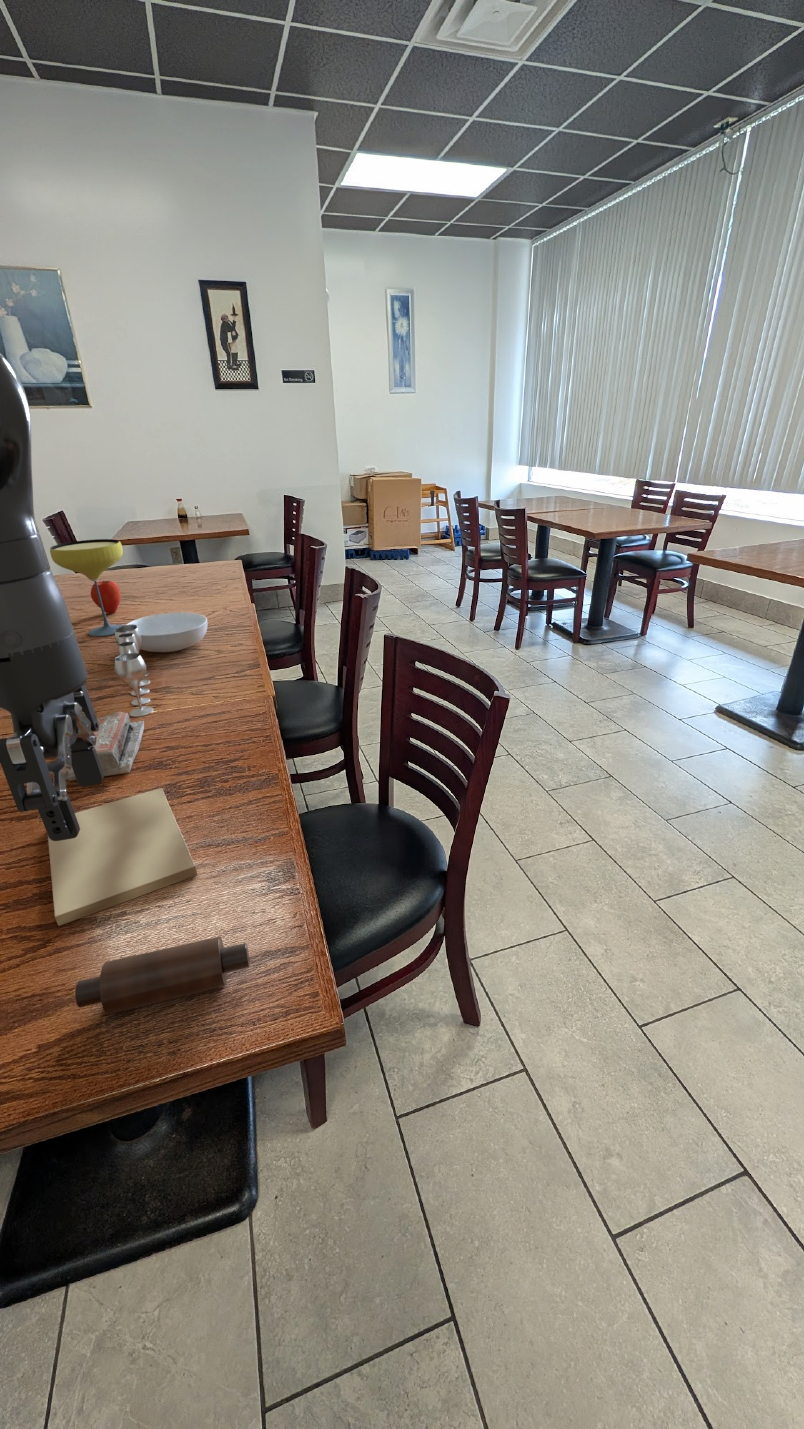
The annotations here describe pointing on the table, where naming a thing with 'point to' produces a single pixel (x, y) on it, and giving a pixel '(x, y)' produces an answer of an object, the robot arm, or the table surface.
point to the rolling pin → (162, 975)
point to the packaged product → (116, 743)
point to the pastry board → (118, 856)
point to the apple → (106, 595)
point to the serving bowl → (170, 631)
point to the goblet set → (132, 666)
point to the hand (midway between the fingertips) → (80, 808)
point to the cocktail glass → (90, 566)
